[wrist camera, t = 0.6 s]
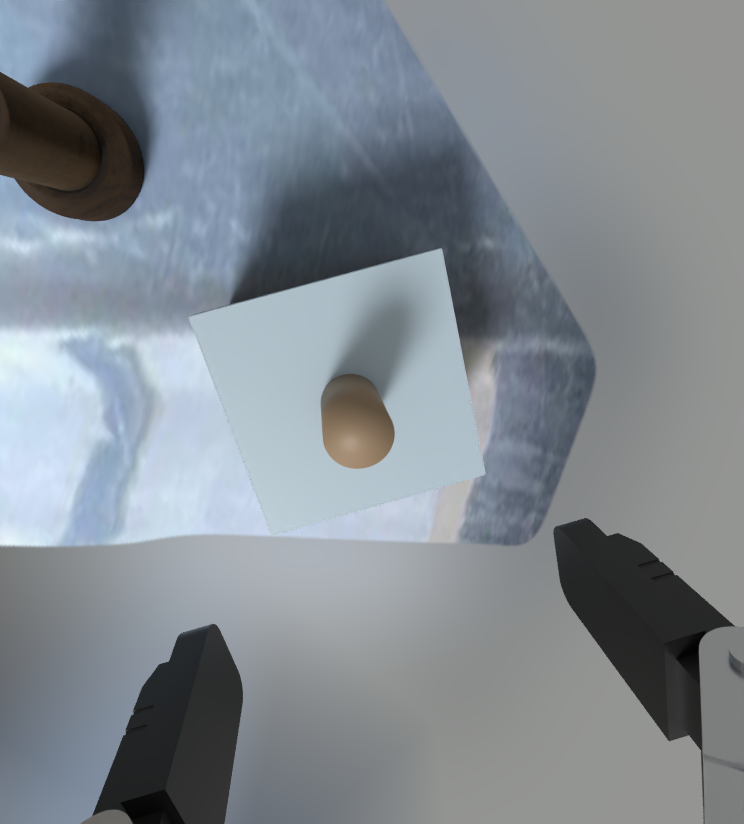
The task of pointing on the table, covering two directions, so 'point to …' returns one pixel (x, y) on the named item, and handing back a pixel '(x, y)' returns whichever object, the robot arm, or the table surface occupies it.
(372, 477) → the lid
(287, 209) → the table surface
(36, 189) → the mortar and pestle
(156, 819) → the robot arm
